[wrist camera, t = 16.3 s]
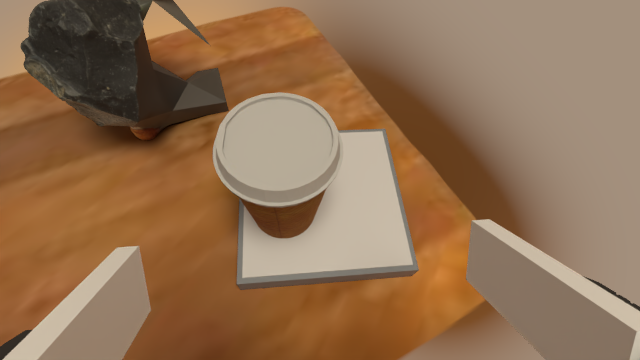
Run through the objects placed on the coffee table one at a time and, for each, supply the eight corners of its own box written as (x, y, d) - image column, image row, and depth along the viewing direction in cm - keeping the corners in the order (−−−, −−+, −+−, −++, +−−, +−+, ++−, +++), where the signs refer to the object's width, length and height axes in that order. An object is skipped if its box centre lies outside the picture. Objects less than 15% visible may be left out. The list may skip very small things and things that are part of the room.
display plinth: (240, 289, 32) (236, 283, 30) (244, 145, 41) (241, 133, 38) (411, 275, 34) (419, 269, 32) (381, 140, 42) (385, 127, 40)
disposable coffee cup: (270, 156, 37) (258, 71, 27) (346, 194, 35) (366, 119, 25) (217, 225, 33) (178, 157, 22) (302, 273, 31) (303, 223, 20)
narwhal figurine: (99, 88, 44) (-10, -69, 28) (217, 67, 47) (177, -84, 31) (100, 178, 37) (-42, 39, 22) (237, 147, 40) (199, 6, 25)
